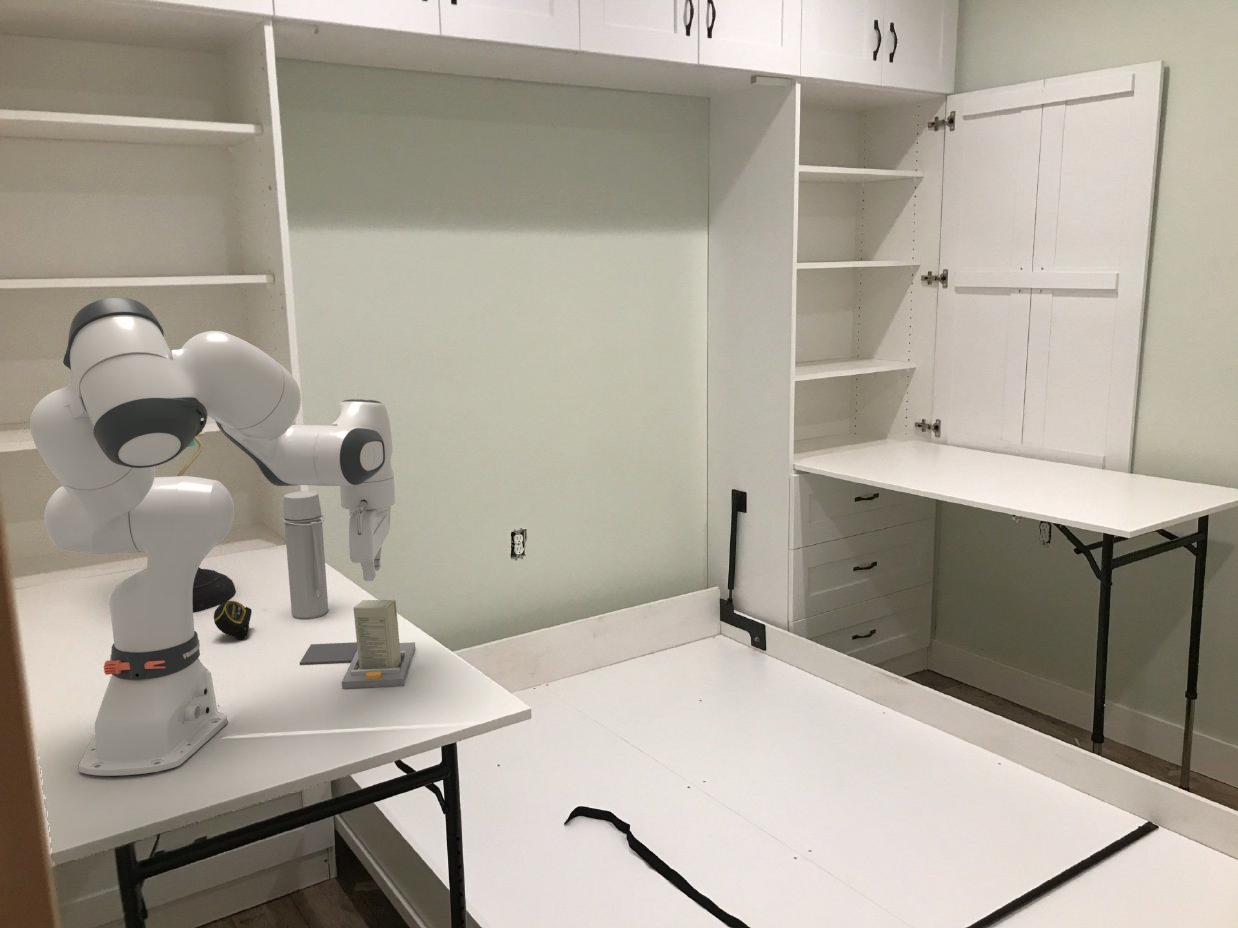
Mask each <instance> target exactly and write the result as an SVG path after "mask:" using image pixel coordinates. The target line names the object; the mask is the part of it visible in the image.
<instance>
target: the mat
mask: <svg viewBox="0 0 1238 928" xmlns="http://www.w3.org/2000/svg"><path fill="white" fill-rule="evenodd" d="M356 651H357V641H356V642H355V641H354V642H353V641H352V642H334V643H332V642H331V643H313V644H310V646H309V647H308V648H307V650H306V652H305V653H304V655H303V656H302V658H301V660H300V661H299V666H304V665H327V664H345V663H346V664H347V663H350V664H351V661H352V659H353V657H354V655H355V653H356Z"/></svg>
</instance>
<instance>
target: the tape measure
mask: <svg viewBox="0 0 1238 928" xmlns="http://www.w3.org/2000/svg"><path fill="white" fill-rule="evenodd" d="M252 613H253V611H252V608H250V607H247V606H244V605H243V604H242V603H241V602H239V601H235V600H228V601H226V602H223V603H222V604H221V605H218V606H217V607H216V609H215V611H214V613H213V622H214V625H215V626H216V628H217V629H218V630H219V631H221V633H222V634H224V635H227V636H228V637H229V636H231V637H234V638H236V639H238V640H244V639H245V638H246V637H247V636H248V635H249V631H250V620H251V617H252Z"/></svg>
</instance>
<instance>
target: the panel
mask: <svg viewBox="0 0 1238 928" xmlns="http://www.w3.org/2000/svg"><path fill="white" fill-rule="evenodd" d="M399 644H400V655H401V667H400V668H383V669H361V670H359V669H358V668H359V660H358V650H357V651H356V653H355V655H354V657H353V659H352V661H351V663H350V664H349V666H348V668H347V670H346V672H345V674H344V677H343V678H342V680H341V689H344V690H345V689H363V688H365V689H366V688H382V687H383V688H386V687H402V686H404V685H405V682H406V679H407V675H408V673H409V669H410V666H411V664H412V660H413V657H414V654H415V651H416V642H414V641H412V642H399Z"/></svg>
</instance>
